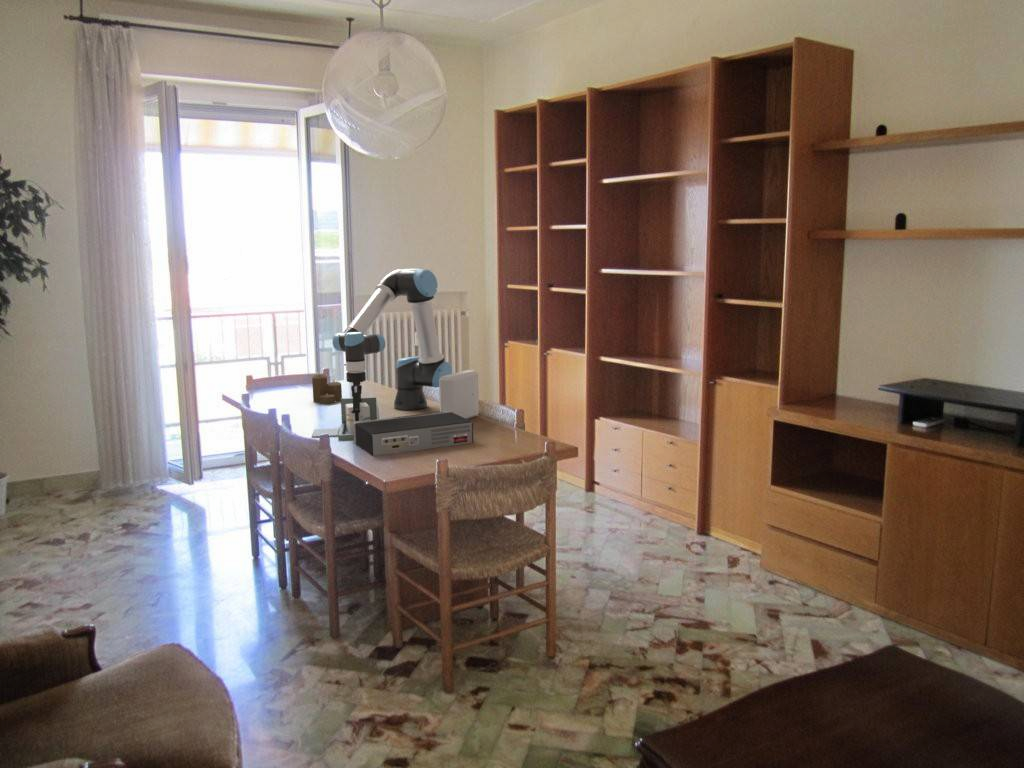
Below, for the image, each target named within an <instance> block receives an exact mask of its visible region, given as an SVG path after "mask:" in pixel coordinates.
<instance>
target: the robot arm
mask: <svg viewBox="0 0 1024 768" xmlns="http://www.w3.org/2000/svg"><path fill="white" fill-rule="evenodd" d="M374 289H375V291H374V293H373V294H372V295H371V296H370V297H369V299H368V300H367V301H366V302H365V304H364V306H363V307H362V308H361V309H360V310H359V312H358V313H357V314H356V316H355V317H354V318H353V320H352V321H351V322H350V323H349V325H348V326H347V328H345V330H344V331H343V332H337V333H335V334H334V335H333V337H332V346H333V349H335V350H336V351H338V352H343V353H345V363H344V366H345V371H346V373H345V374H346V375H345V376H346V377H345V379H346V382H348V383H352V385H351V386H350V388H351V398H353V411H351V412H352V413H353V418H354V422H359V421H361V415H360V403H362V401H361V398H362V387H363V386H362V384H361V383H364V382H366V380H367V379H366V358H365V357H366V355H371V354H378V353H381V352H383V351H384V349H385V348H386V340H385V337H384V336H383V335H382V334H380V333H372V334H367V332H369V330H370V329H371V327H372V326H373V325H374V323H375V322H376V321H377V319H378V318H379V316H380V315H382V312H383V311H384V310H385V309H386V308H387V306H388V305H389V304H390V303H392V302H394V301H395V299H396V298H398V297H401V296H404V297H406V300H407V301H406V302H407V303H408V304H410V306H411V309H412V315H413V318H414V319H413V320H414V325H415V330H416V337H417V342H418V346H419V352H420V353H419V354H420V355H418V356H409V357H402V358H399V359H397V360H396V367H395V370H396V389H397V390H396V391H397V392H396V394H395V397H394V398H395V399H394V402H393V408H394V409H395V408H396V409H395V410H401V411H414V410H415V411H416V410H423V409H426V408H427V407H428V401H427V399H426V395H425V393H424V389H423V387H428V388H429V387H430V388H439V379H440V378H441V377H442V376H446V375H450V374H453V370H452V369H453V368H452V365H451V363H449V362H448V361H446V359H445V356H444V354H443V353H442V352H441V350H440V345H439V339H438V333H437V329H436V328H437V327H436V324H435V323H436V322H435V316H434V311H433V310H434V309H433V304H432V301H433V300H434V299H435V297H434V296H435V295H436V293H437V290H438V279H437V277H436V275H435V273H433V272H432V270H429V269H424V268H398V269H395V270H393V271H391V272H389V273H388V274H386V276H384V277H383V278H381V280H380V281H379V282H378V283H377V285H376V286H375V288H374Z"/></svg>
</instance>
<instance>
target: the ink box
mask: <svg viewBox="0 0 1024 768" xmlns="http://www.w3.org/2000/svg"><path fill="white" fill-rule="evenodd" d="M345 407H346V427H347V428H346V434H354V428H353V422H354V418H353V413H352V412H351V411H353V403H352V404H345ZM360 415H361V421H368V420H370V407H369V406H368V404H367V403H366V402H365V403H360Z"/></svg>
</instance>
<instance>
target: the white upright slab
mask: <svg viewBox="0 0 1024 768" xmlns="http://www.w3.org/2000/svg"><path fill="white" fill-rule="evenodd" d="M438 391H439V412H445V411H451V412H453V413H455V414H457V415H459V416H461V417H463V418H466V419H468V420H470V419H471V418H475V417H477V416H478V415H479V413H480V408H479V407H480V406H479V374H478V372H477V371H476V370H473V369H472V370H471V369H465V370H463V371H457V372H455V373H452V374H450V375H446V376H442V377H441V378H440V379H439V387H438ZM472 394H473V395H472Z"/></svg>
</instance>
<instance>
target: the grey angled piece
mask: <svg viewBox="0 0 1024 768" xmlns="http://www.w3.org/2000/svg"><path fill="white" fill-rule="evenodd" d="M361 401H362V403H365V402H366V403H367V404H368V406H369V407H370V420H376V419H380V403H377V397H375V396H374V397H373V396H371V397H361ZM352 403H353V397H351V398H350V397H346V398H343V397H342V399H341V401H340V410H341V424H340V428H339V429H340V430H339V433H338V436H337V438H338V441H354V434H348V433H346V434H344V433H345V429H347V427H346V407H345V404H352Z"/></svg>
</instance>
